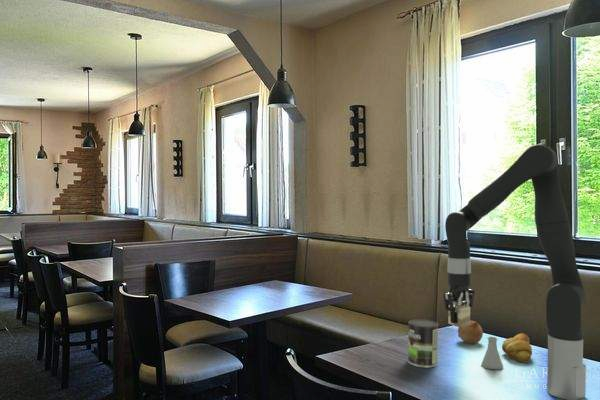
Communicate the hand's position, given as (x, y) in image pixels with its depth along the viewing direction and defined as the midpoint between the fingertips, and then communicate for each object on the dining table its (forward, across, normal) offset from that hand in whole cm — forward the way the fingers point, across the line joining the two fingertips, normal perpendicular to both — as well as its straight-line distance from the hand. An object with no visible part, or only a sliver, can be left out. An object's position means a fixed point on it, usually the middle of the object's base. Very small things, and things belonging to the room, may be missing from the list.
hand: (459, 321), depth 164 cm
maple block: (+1, 0, 0) cm, 1 cm away
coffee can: (+16, -4, +12) cm, 21 cm away
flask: (+17, +13, -4) cm, 22 cm away
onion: (+17, +30, +17) cm, 38 cm away
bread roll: (+17, +29, -3) cm, 34 cm away
